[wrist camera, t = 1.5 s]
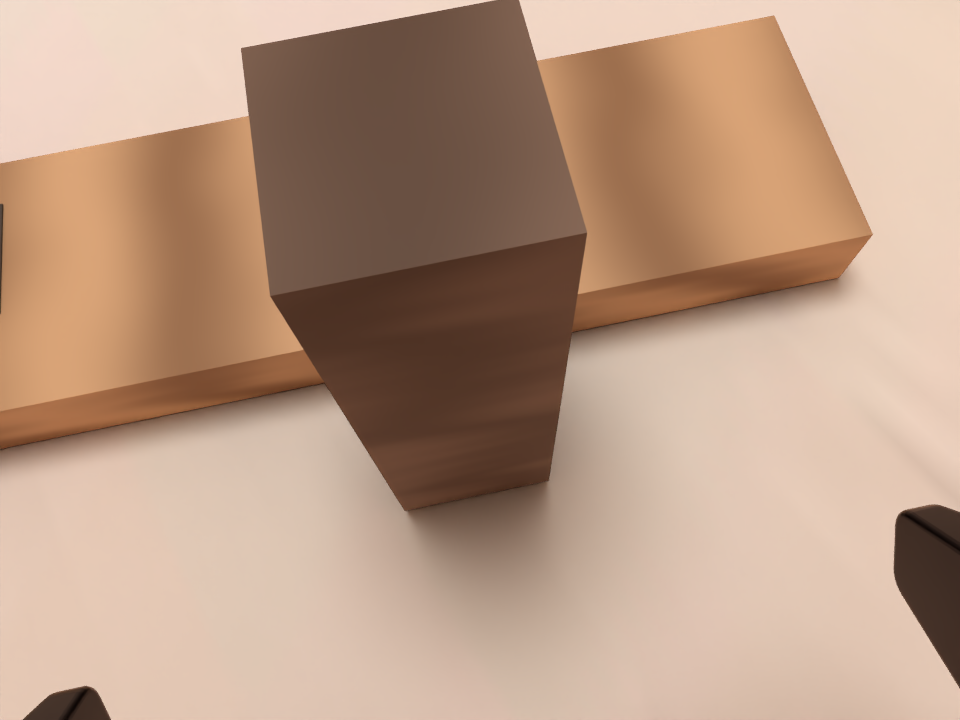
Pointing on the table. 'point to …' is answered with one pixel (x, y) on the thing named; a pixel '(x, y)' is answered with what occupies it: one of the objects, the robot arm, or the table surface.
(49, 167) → the oak board
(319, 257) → the brown wooden block
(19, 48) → the table surface
